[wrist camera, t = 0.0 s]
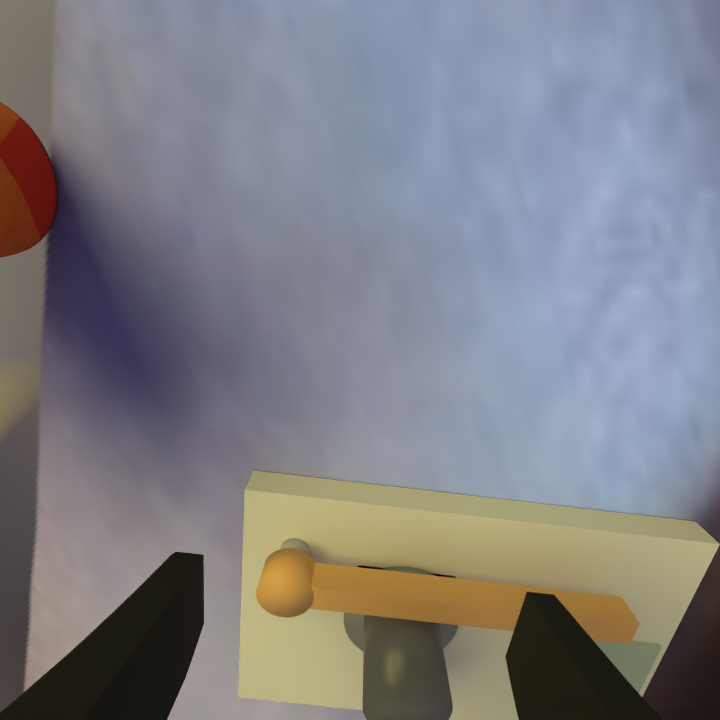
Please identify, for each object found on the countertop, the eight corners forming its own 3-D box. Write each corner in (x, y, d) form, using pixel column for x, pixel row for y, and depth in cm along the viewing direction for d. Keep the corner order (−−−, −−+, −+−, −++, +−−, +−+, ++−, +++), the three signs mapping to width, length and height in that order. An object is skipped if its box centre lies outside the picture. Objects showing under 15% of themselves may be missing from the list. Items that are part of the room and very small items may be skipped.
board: (606, 708, 25) (630, 756, 22) (245, 669, 24) (233, 714, 22) (695, 521, 20) (735, 558, 18) (253, 470, 20) (238, 501, 18)
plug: (439, 625, 23) (462, 758, 17) (341, 614, 23) (331, 744, 17) (459, 546, 21) (492, 666, 15) (352, 534, 21) (345, 650, 15)
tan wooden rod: (608, 624, 19) (626, 655, 18) (263, 586, 19) (255, 614, 17) (625, 585, 18) (645, 614, 17) (265, 545, 18) (256, 571, 17)
